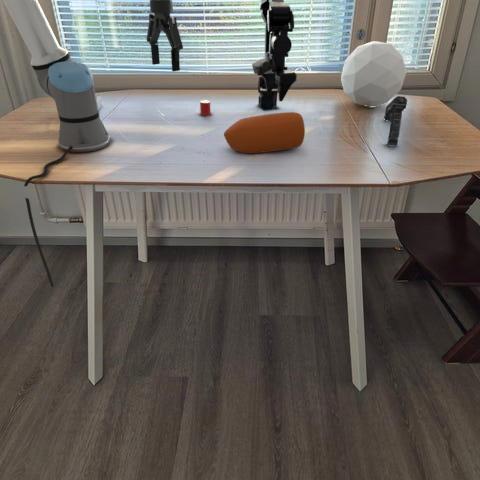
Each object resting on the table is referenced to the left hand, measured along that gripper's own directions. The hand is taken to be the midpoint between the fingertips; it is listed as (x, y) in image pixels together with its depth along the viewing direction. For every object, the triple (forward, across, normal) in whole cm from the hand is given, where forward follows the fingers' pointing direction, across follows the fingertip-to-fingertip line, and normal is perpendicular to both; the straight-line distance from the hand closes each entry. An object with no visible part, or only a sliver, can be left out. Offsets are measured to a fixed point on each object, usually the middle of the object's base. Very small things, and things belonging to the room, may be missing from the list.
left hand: (165, 67), depth 146 cm
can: (+16, -9, -11) cm, 22 cm away
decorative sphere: (+15, -40, -70) cm, 83 cm away
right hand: (+7, -32, -24) cm, 41 cm away
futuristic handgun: (+16, -66, -48) cm, 83 cm away
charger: (+17, +24, +21) cm, 37 cm away
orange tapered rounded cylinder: (+16, -48, -5) cm, 51 cm away
